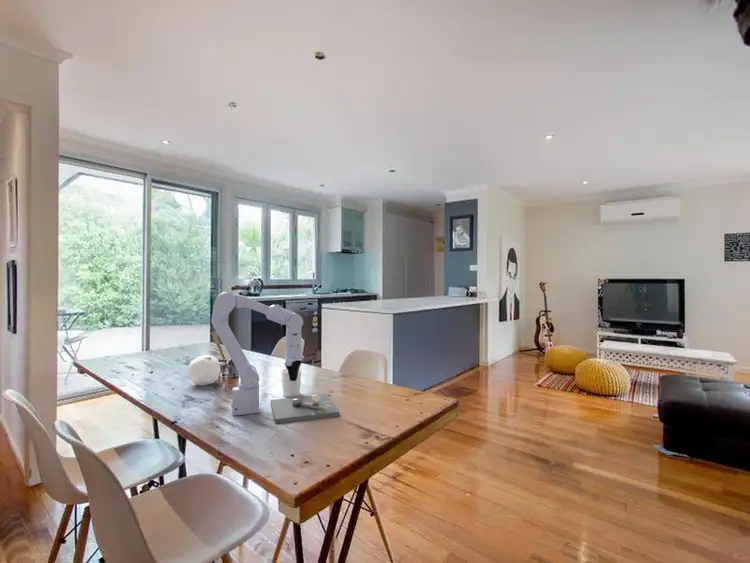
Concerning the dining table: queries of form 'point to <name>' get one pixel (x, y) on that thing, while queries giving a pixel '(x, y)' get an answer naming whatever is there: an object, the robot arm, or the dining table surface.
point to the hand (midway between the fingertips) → (293, 380)
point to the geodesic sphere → (204, 370)
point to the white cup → (290, 384)
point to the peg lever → (315, 403)
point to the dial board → (302, 410)
